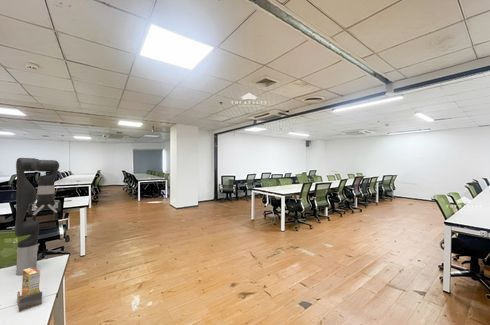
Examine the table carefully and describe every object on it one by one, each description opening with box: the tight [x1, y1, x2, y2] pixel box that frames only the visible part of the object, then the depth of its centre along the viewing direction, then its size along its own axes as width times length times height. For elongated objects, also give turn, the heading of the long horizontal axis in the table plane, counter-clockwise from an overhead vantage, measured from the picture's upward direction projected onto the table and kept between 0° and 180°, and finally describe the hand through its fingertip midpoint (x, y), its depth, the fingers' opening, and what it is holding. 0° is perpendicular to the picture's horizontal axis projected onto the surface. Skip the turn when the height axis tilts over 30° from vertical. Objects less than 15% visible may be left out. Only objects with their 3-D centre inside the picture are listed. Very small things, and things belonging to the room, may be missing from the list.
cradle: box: [16, 289, 43, 313], centre depth 108 cm, size 15×8×6 cm, turn 50°
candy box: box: [20, 267, 41, 298], centre depth 107 cm, size 9×4×15 cm, turn 63°
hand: (44, 219), depth 125 cm, fingers open, 8 cm apart
